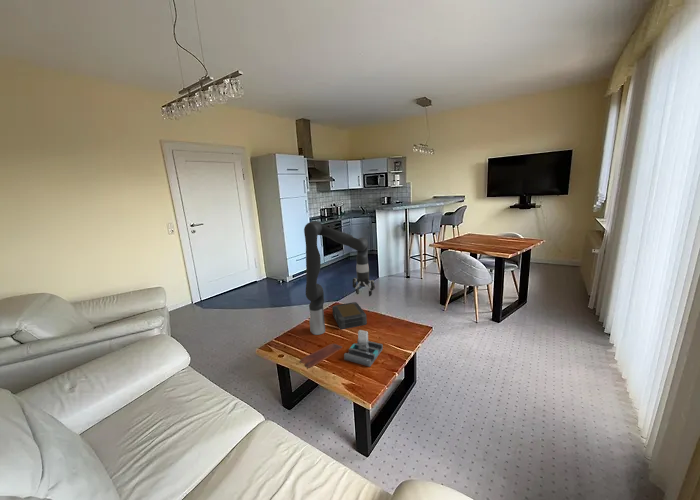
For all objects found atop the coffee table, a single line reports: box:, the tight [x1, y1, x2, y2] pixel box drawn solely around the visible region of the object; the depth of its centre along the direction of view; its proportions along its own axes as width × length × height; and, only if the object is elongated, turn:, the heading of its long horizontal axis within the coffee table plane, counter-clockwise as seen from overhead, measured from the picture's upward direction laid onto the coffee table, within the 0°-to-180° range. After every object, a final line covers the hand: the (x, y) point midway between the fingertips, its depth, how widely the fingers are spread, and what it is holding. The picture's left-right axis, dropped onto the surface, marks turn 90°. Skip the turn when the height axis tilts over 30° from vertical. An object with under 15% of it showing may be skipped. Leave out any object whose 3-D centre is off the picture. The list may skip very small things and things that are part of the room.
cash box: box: [331, 301, 368, 330], centre depth 208 cm, size 25×20×8 cm
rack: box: [343, 339, 384, 368], centre depth 165 cm, size 16×18×4 cm
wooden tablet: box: [299, 343, 343, 369], centre depth 168 cm, size 27×10×2 cm, turn 134°
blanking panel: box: [357, 329, 369, 352], centre depth 164 cm, size 5×2×13 cm, turn 61°
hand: (363, 295), depth 179 cm, fingers open, 8 cm apart
